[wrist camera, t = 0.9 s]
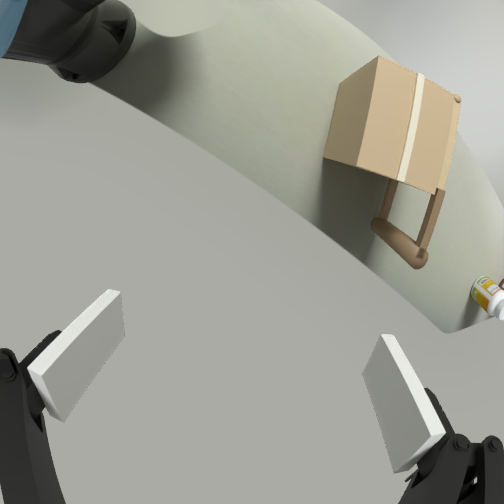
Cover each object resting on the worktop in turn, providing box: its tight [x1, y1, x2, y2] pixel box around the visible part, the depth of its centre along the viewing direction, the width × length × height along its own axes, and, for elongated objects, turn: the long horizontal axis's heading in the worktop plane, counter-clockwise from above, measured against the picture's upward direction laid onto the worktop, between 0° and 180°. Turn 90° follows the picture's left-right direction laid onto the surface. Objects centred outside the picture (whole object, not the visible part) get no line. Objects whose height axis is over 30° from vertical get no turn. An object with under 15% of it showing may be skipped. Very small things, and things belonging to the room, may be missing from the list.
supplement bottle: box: [471, 276, 504, 321], centre depth 37 cm, size 5×5×10 cm
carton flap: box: [371, 94, 461, 269], centre depth 28 cm, size 19×2×14 cm, turn 168°
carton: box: [323, 56, 454, 195], centre depth 26 cm, size 11×9×14 cm
